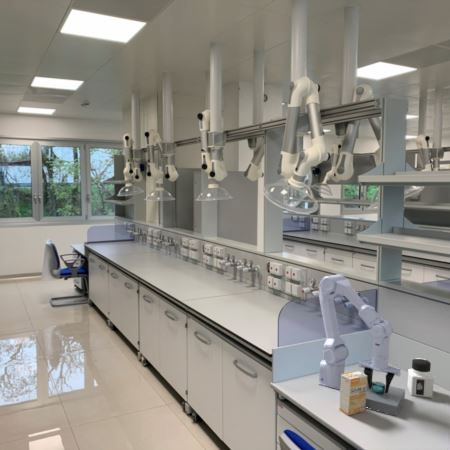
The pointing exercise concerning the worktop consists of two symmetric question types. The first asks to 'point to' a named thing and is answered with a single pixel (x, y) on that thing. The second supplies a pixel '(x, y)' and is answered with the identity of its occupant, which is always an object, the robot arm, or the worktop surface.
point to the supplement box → (353, 392)
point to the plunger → (378, 387)
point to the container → (420, 378)
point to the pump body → (385, 400)
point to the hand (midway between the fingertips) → (378, 390)
